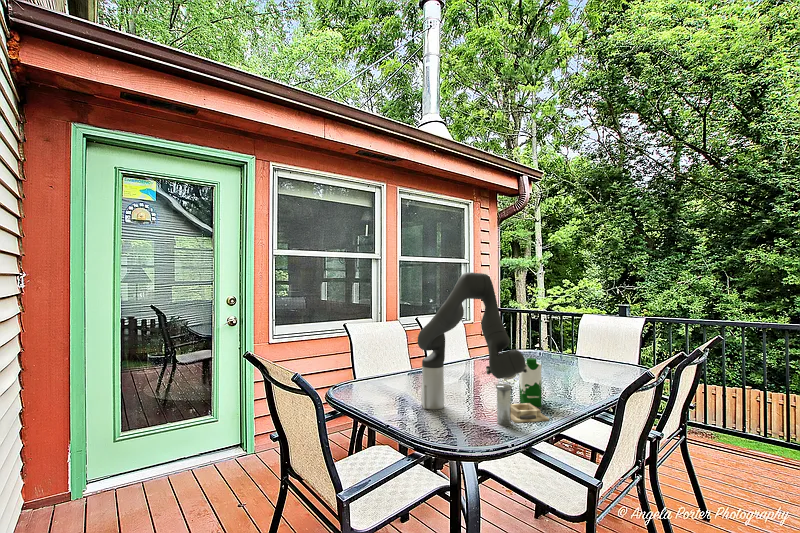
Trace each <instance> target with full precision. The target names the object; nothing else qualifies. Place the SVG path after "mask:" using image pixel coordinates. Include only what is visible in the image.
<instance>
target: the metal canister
mask: <svg viewBox="0 0 800 533" xmlns="http://www.w3.org/2000/svg"><path fill="white" fill-rule="evenodd" d="M495 389H496V422H497V425H499V426H504V427H506V426H511V425H512V420H511V404H512V402H511V400H512V399H511V395H512V394H511V393H512V392H511V390H512V385H510V384H508V383H507V384H506V383H497V384H496V385H495Z"/></svg>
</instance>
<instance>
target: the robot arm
mask: <svg viewBox="0 0 800 533" xmlns="http://www.w3.org/2000/svg"><path fill="white" fill-rule="evenodd" d="M467 299H470V300H481V301H482V303H483V305H484V311H483V314H482V318H481V323H480V324H481V332H482V334H483V337H484V340H485V343H486V345H487V350H488V365H487V366H485V369H486V371H485V372H486V375H488V376H489V375H492V376H493V377H495V378H496V379H499V380H501V379H502V380H506V381H507V380H512V379H514V378H516V376H517V375H519V373H522V372H525V373H526V372H527V367H526V364H525V361H526V360H525V359H526V358H525V356H524V355H523V353H522V352H521V351H520V350H518V349H509V350H506V351H504V352H501V351H503V350H505V349H506V348H507V347H508V346H509V345H510V342H511V341H510V338H509V335H508V333H507V330H506V328H505V326H504V324H503V321H502V319H501V315H500V311H499V306H498V302H497V301H498V300H497V297H496V292H495V288H494V284H493V282H492V279H491V277H490V276H489V275H488V274H487V273H481V272H471V271H470V272H469V271H468V272H464V273H462V274H461V275H460V277H459V278H458V279H457V281H456V284H455V285H454V287H453V288H452V291H451V292H450V294H449V295H448V296H447V299H446V300H445V301H444V302H443V304H442V305H441V306H440V307H439V309H438V310H437V312H436V313H435V315H434V316H433V317H432V318H431V320H430V321H429V322H428V323H427V324H426V325H425V326H424V327H423V328H422V329H421V330H420V331H419V333H418V335H417V345H418V348H420V349H421V350H422V351H432V352H431V353H430V354H429V355H428V356H426V357H424V358H423V359H422V361H421V370H422V372H421V374H422V376H421V377H422V382H421V386H420V391H421V398H420V399H421V407H423V409H424V410H441V409H443V408H445V378H444V375H445V374H444V373H445V369H444V368H445V366H444V365H445V364H444V362H445V360H446V359H445V357H446V335H445V334H446V333H447V332H449V331H451V330H454V328H456V326H458V324H459V323H460V322H461V321H462V320H463V318H464V311H465V310H464V306H463V303H464V301H465V300H467Z"/></svg>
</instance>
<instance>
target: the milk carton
mask: <svg viewBox="0 0 800 533" xmlns="http://www.w3.org/2000/svg"><path fill="white" fill-rule="evenodd" d="M525 364H526V367H527V372H526V373H525V372H522V373H519V374H518V384H519V385H518V387H519V388H518V389H519V390H518V391H519V392H518V393H519V404H521V403H530V404H532V405H533V406H535V407H536V408H542V406H543V404H542V402H543V400H542V398H543V394H542V388H543V387H542V364H541V363H540V362H538V361H537V358H534V357H533V358H532V357H528V358H526V360H525Z"/></svg>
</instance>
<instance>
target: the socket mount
mask: <svg viewBox="0 0 800 533" xmlns="http://www.w3.org/2000/svg"><path fill="white" fill-rule="evenodd" d="M547 421H548V422H549V421H550V418H549V417H548V416H547V415H545V414H544V413H542V412H541V409H539V407H535V406H533V405H532V404H530V403H511V422H513V423H517V424H518V423H531V422H532V423H533V422H547Z"/></svg>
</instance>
